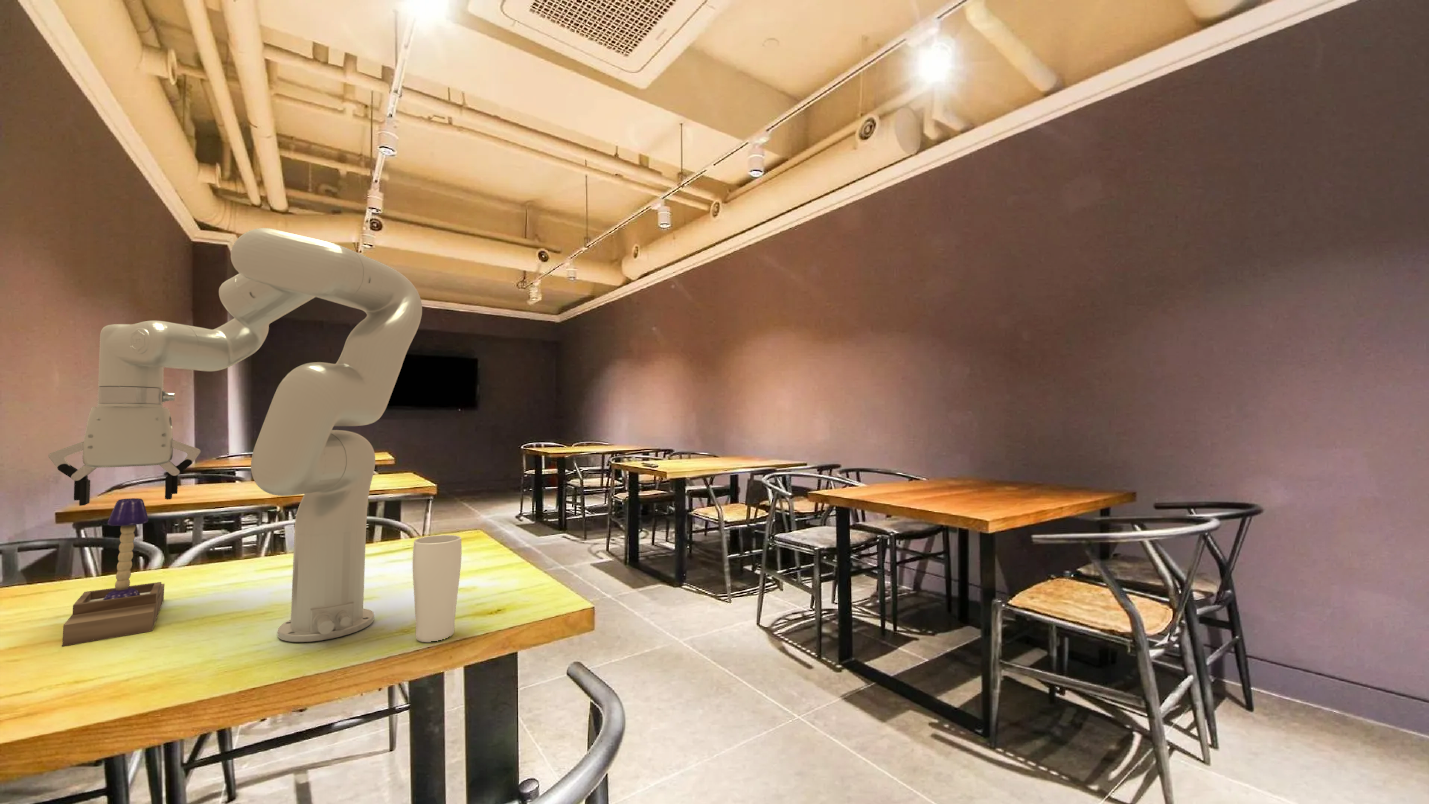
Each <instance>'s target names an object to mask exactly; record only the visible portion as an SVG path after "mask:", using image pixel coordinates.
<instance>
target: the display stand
mask: <svg viewBox="0 0 1429 804" xmlns="http://www.w3.org/2000/svg"><path fill="white" fill-rule="evenodd" d="M128 588H134V589H136V590H137V591H138V592H139V593H140V595H137V596H129V597H122V598H115V599H107V600H103V599H104V597H105V596H106V595H107V594H108V593H109V592H111V591H113V590H116V588H115V587H113V588H104V589H103V588H102V589H96V590H90V591H88V590H86V591H84V592H83V593H82V594H81V596H79V597H78V598H77V600H76V601H75V602H74V604H73V605H72V614H71V615H70V616H69V618H68V619H67V620H66V621H65V623H64V624H63V625H62V641H61V647H65V646H66V647H67V646H71V645H77V644H84V643H88V642H95V641H101V640H108V639H113V638H120V637H126V636H130V635H135V634H143V633H147V632H148V633H149V632H153V629H154V627H155V624H156V622H157V619H158V616H159V613H160V611H161V608H162V605H163V604H164V600H165V599H164V598H165V583H162V582H161V581H158V582H151V583H141V584H135V585H129V587H128Z"/></svg>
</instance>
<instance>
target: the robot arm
mask: <svg viewBox="0 0 1429 804" xmlns="http://www.w3.org/2000/svg"><path fill="white" fill-rule="evenodd" d="M230 260H231V264H232V266H233V268H234V269H235V271H236V272H237V274H236V275H234V276H232V277H230V278H229V279H226V280H225V281H224V282H222V283H221V285H220V286H219V288H218V296H219V300H220V302H221V304H222V305H223V308H225V310H226V311H227V312H228V313H229V314H230V315H231V316H232V317H233V318H232V319H230V320H229V321H226V322H225V323H223V324H222V325H220V326H218V327H216V328H214V329H211V328H205V327H200V326H194V325H188V324H183V323H177V322H170V321H164V320H147V321H145V320H144V321H140V322H138V323H133V324H128V323H127V324H126V323H118V324H117V323H115V324H114V323H112V324H107V325H105V326H103V328H102V329H101V331H100V334H99V357H98V382H97V385H98V386H97V387H98V388H97V406H92V407H91V408H90V411H89V414H88V417H87V420H86V426H85V432H84V437H83V438H84V439H83V440H82V441H81V442H79V443H76V444H72V445H70V446H67V447H64V448H61V449H58V450H55V451H53V452H51V453H49V454H48V459H49V460H50V461H51V463H53V465H54V466H55V468H56V469H57V470H58V471H59V472H61V473H62V474H64V475H65V476H67V477H68V478H70V479H71V480H73V481H74V482H73V483H74V484H73V501H79V502H78V505H79V507H80V506H86V505H88V504H90V500H91V499H90V498H91V497H90V496H91V480H90V478H89V475H90V474H91V473H92V472H94V471H95V470H96V469H97V468H102V469H103V468H126V467H128V468H129V467H146V466H147V467H148V466H149V467H150V466H151V467H152V466H160V467H161V468H163V470H164V471H166V472H167V475H166V476H165V485H164V486H165V487H164V499H165V500H166V501H167V500H168V501H169V500H172V499H173V495H177V494H178V493H179V492H178V489H179V488H178V487H179V486H178V485H179V474H181V473H182V472H184V471H185V470H186V469H188V468H189V467H190V466H191V465H192V464H193V463H194V462H195V460H196V459H197V457H199V455H200V454H201V452H202V451H201V449H199V448H197V447H194V446H192V445H189V444H186V443H184V442H180V441H177V440H174V437H173V436H174V435H173V421H172V415H171V411H170V408H169V407H166V406H165V407H164V403H166V402H169V401H170V402H171V401H173V402H174V401H175V398H176V396H175V395H176V393H175V392H168V391H167V392H166V390H164V383H165V382H164V381H165V380H164V376H165V374H164V371H165V368H168V369H182V370H189V371H190V370H191V371H201V372H217V371H221V370H225V369H228V368H230V367H232V366H234V365H236V364H238V363H240V362H241V361H243V360H245V359H247V358H248V357H251V356H253V354H255V353H256V352H257V351H258V350H259V349H260V348H261V347H262V345H263V344H264V342H265V341H266V339H267V336H268V334H269V330H270V327H269V326H270V324H271V323H273V322H275V321H277V320H279V319H280V318H282V317H283V316H285V315H287V314H289V313H290V312H292V311H294V310H296V309H297V308H299V307H300V306H302V305H304V304H306V303H308V302H309V301H311V300H313V299H315V298H318V299H321V300H325V301H328V302H332V303H336V304H339V305H343V306H346V307H349V308H353V309H357V310H361V311H363V312H364V313H365V314H366V316H365V318H364V319H362V320H361V321H360V322H358V323H357V324H356V326H355V327H354V328H353V329H352V330H351V331H350V333H349V334H348V336H347V338H346V340H345V343H344V346H343V348H342V351H341V354H340V356H339V357H338V360H337V361H336V363H330V362H321V361H317V362H307V363H303V364H301V365H299V366H297V367H295V368H293V369H292V370H291V371H289V372H288V373H287V374H286V375H285V377H283V378H282V380H281V381H280V383H279V384H278V386H277V388H276V391H275V393H274V395H273V398H272V399H271V403H270V405H269V408H268V410H267V413H266V415H265V418H264V421H263V424H262V426H261V429H260V431H259V434H258V437H257V440H256V442H255V445H254V447H253V450H252V451H253V452H252V453H251V454H252V456H251V460H250V470H251V471H250V472H251V476H252V479H253V480H254V483H255V484H256V486H257V487H258V488H259V489H260V490H262V491H263V492H265V493H267V494H269V495H274V496H280V497H290V496H299V495H303V496H302V498H301V501H300V502H299V506H298V508H297V511H296V514H295V518H294V519H295V520H294V536H293V558H292V559H293V561H292V579H291V580H292V581H291V583H292V584H291V585H292V586H291V587H292V588H291V606H290V607H291V608H290V609H291V610H290V619H288V620H286V621H284V622H283V623H282V624H281V625H279V626H278V628H277V637H278V638H279V640H282V641H286V642H291V643H309V642H319V641H325V640H332V639H336V638H340V637H344V636H348V635H351V634H354V633H356V632H359V631H362V630H364V629H365V628H368V627H369V626H370V625H372V624H373V622H374V619H375V614H374V612H373V610H371V609H368V608H364V597H365V596H364V595H365V594H364V593H365V569H366V566H365V565H366V543H367V542H366V540H367V539H366V538H367V523H368V521H367V519H368V518H367V517H368V503H369V496H370V489H371V485H372V481H373V476H374V474H375V473H374V472H375V467H376V453H375V450H374V447H373V445H372V443H370V441H369V440H368V439H367V438H366V437H364V436H362V435H361V434H359V433H357V432H355V431H349V430H344V429H343V430H341V429H340V430H339V429H333V428H334V427H358V426H361V427H363V426H367V425H371V424H373V423H376V422H377V421H378V420H380V418H381V417H382V416H383V414H384V413H385V411H386V409H387V407H388V404H389V401H390V399H391V396H392V393H393V391H394V388H395V385H396V383H397V381H398V377H399V375H400V372H401V369H402V367H403V363H404V361H405V358H406V355H407V353H408V351H409V348H410V346H411V344H412V342H413V339H414V338H415V336H416V334H417V331H418V329H419V326H420V324H421V319H422V317H423V316H422V315H423V304H422V299H421V297H420V294H419V292H418V291H419V290H417V288H416V287H415V285H414V284H413V282H412V281H410V279H408V278H407V277H406V276H405V275H404V274H402V273H401V272H400V271H398V270H396V268H393V267H391V266H389V265H387V264H385V263H383V262H380V261H379V260H376V259H374V258H372V257H369V256H367V255H364V254H362V253H359V252H357V251H355V250H353V249H350V248H349V247H346V246H343V245H340V244H337V243H334V242H330V241H326V240H321V239H318V238H315V237H314V238H313V237H309V236H306V235H300V234H296V233H292V232H287V231H283V230H280V229H279V230H278V229H274V228H269V227H268V228H267V227H261V228H254V229H251V230H249V231H246V232H244V233H243V234H242V235H240V236H239V237H238V238H237V239H236V240H235V241H234V243H233V245H232V247H231V250H230ZM174 449H175V450H177V451H180V452H183V453H186V454H187V455H186V457H185V458H184V460H182V461H181V462H180V463H179V464H177V465H176V464H174V463H173V462H172V459H173V454H174ZM80 452H82V464H84V465H82V466H81V467H80V468H79V469H77V468H76V467H74V466H73V465H71V464H70V463H69V461H68V460H67V457H69V456H72V455H74V454H77V453H80Z"/></svg>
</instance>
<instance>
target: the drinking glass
mask: <svg viewBox="0 0 1429 804" xmlns="http://www.w3.org/2000/svg"><path fill="white" fill-rule="evenodd" d="M412 546H413V547H412V548H413V549H412V582H413V583H412V585H413V597H414V615H415V616H414V618H415V638H416V640H417V641H419V642H421V643H432V642H431V641H437V642H439V641H438V640H441V641H443V640H442V639H444V638H447V639H449V638H450V637H452V636H453V635H454V633H455V627H456V625H455V622H456V621H455V619H456V613H457V600H458V593H459V585H460V578H461V567H462V537H461V536H460V535H456V534H455V535H454V534H439V535H438V534H437V535H436V534H435V535H428V536H423V537H419V538H417V539H414V541H413V545H412ZM449 636H450V637H449ZM448 637H449V638H448ZM444 640H445V639H444Z"/></svg>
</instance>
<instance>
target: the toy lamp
mask: <svg viewBox="0 0 1429 804" xmlns="http://www.w3.org/2000/svg"><path fill="white" fill-rule="evenodd" d="M148 521H149V516H148V512H147V510H146V505H145V501H144V500H143V499H142V498H137V497H136V498H135V497H134V498H133V497H132V498H131V497H130V498H121V499H120V498H119V499H118V500H117V501H116V503H115V504H114V506H113V509H112V511H111V513H110V516H109V517H108V520H107V525H108V526H111V527H118V526H119V527H120V535H119V541H120V543H119V545H118V551H119V553H118V556H117V560H118V562H117V565H116V570H117V572H116V574H115V579H116V581H115V583H114V588H116V590H113V591H111V592H109V593H108V594H107V595H106V596H105V597H104V599H103V600H107V599H115V598H122V597H129V596H137V595H140V593H139V592H138V591H137V590H136V589H134V588H128V587H129V586H131V582H130V578H131V576H132V572H131V569H132V568H133V567H132V566H133V562H132V559H133V557H134V552H133V549H134V547H135V544H134V540H135V533H134V532H135V531H136V526H138V525H143V524H147V523H148Z"/></svg>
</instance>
